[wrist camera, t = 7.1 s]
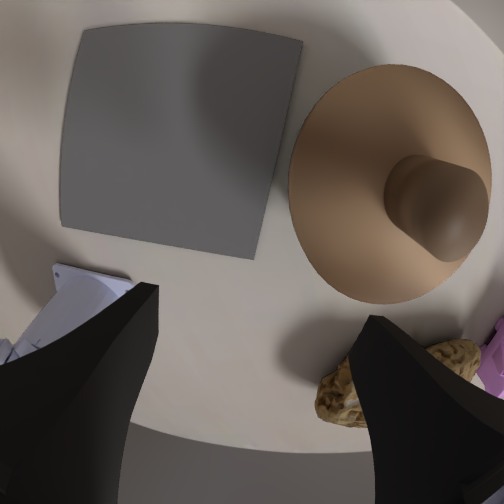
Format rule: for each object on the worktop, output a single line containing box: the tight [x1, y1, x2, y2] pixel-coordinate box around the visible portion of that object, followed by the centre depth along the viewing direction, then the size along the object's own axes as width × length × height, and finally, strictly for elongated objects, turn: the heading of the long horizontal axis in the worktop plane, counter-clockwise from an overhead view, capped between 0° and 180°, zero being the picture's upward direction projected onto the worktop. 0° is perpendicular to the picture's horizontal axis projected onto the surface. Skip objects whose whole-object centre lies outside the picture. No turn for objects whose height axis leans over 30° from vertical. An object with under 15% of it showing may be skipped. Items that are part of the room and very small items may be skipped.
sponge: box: [315, 339, 481, 428], centre depth 23 cm, size 13×8×20 cm
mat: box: [60, 23, 303, 260], centre depth 15 cm, size 15×15×1 cm
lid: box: [288, 64, 492, 304], centre depth 10 cm, size 13×13×4 cm
